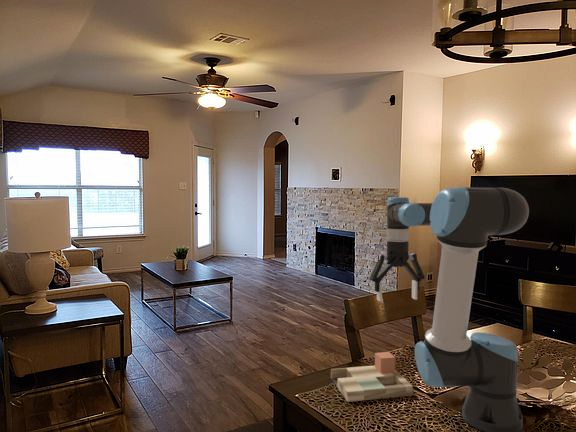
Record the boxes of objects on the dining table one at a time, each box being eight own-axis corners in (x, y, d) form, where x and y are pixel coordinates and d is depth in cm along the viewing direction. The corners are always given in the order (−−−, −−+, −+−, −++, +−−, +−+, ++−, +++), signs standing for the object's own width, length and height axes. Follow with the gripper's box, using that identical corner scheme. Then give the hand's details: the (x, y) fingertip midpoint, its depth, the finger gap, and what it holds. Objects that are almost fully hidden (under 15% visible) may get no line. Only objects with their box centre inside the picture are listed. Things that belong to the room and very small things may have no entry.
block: (394, 372, 145) (395, 357, 145) (380, 373, 144) (380, 358, 144) (388, 366, 150) (388, 351, 150) (374, 367, 149) (374, 352, 149)
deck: (412, 395, 135) (412, 386, 135) (347, 401, 131) (347, 392, 131) (389, 372, 152) (389, 364, 152) (330, 377, 148) (330, 369, 147)
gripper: (424, 238, 163) (423, 295, 164) (360, 240, 157) (360, 299, 158) (435, 240, 155) (434, 300, 156) (369, 242, 150) (368, 304, 151)
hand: (397, 299), depth 157 cm, fingers open, 13 cm apart
